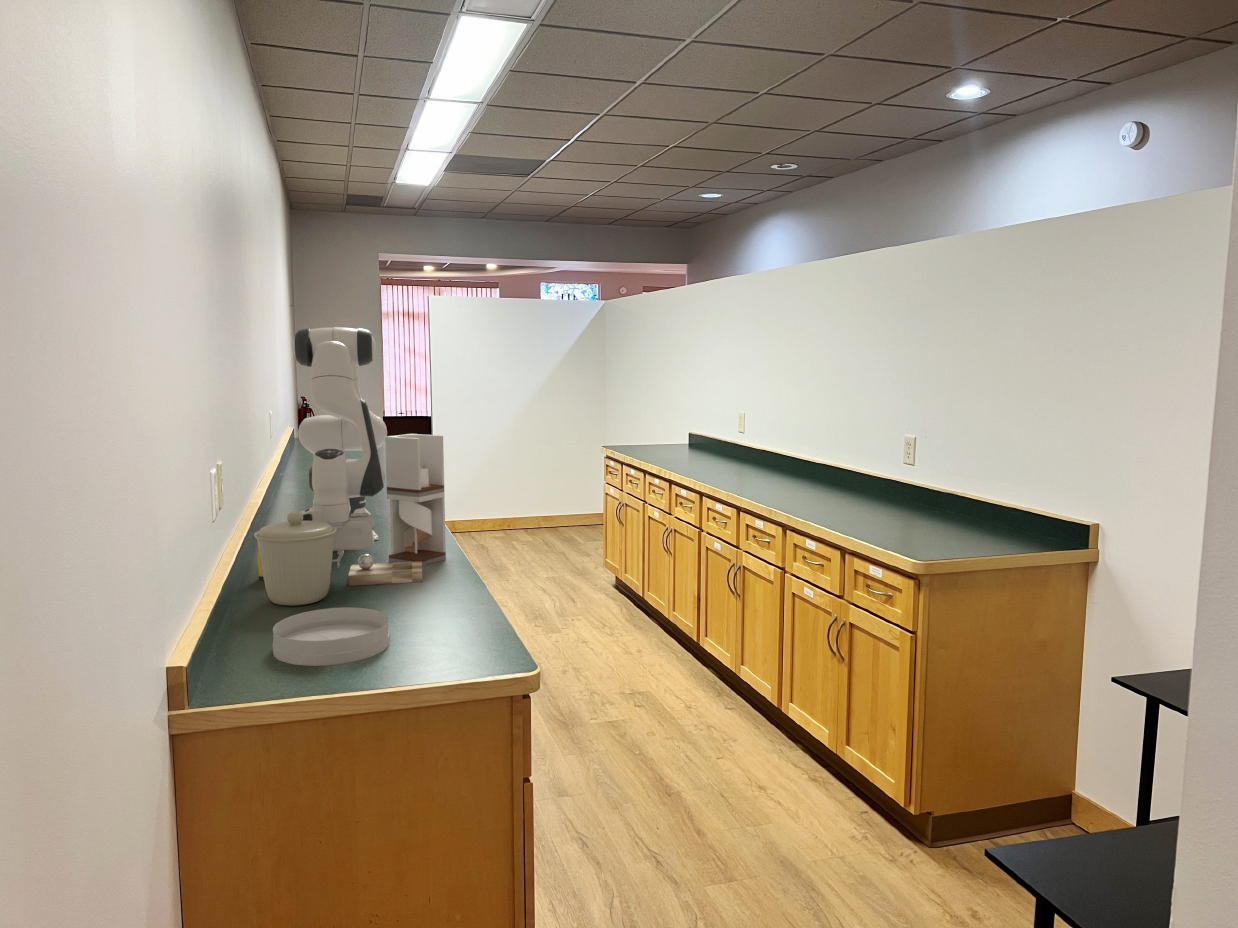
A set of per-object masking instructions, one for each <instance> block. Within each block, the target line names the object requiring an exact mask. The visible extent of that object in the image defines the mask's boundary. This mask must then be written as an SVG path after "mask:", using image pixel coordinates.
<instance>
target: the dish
mask: <svg viewBox="0 0 1238 928" xmlns="http://www.w3.org/2000/svg"><path fill="white" fill-rule="evenodd" d="M272 633H273V634H272V637H273V641H272V653H273V657H274V658H275V659H277V660H278V661H280V662H283V663H286V664H290V665H291V664H292V665H298V666H306V667H307V666H311V667H315V666H317V667H320V666H334V665H341V664H342V665H343V664H347V663H352V662H357V661H362V660H365V659H368V658H370V657H373V656H376V655H378V654H380V653H382V652H384V651H385V650H386V649H387V648H388V647H389V646H390V642H391V631H390V630H389V617H388V616H387V614H386V613H384V612H382V611H380V610H377V609H372V608H363V607H330V608H329V607H328V608H322V609H321V608H320V609H315V610H310V611H304V612H300V613H297V614H293V615H290V616H288V617H285V618H283V619H281V620H279V621H278V622H276V623H275V625H274V626H273V627H272Z"/></svg>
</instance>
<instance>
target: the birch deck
mask: <svg viewBox="0 0 1238 928" xmlns="http://www.w3.org/2000/svg"><path fill="white" fill-rule="evenodd" d="M347 578H348V579H347V580H348V586H352V587H353V586H367V585H386V584H401V583H402V584H404V583H405V584H407V583H419V582H422V583H423V566H422V561H417V562H397V563H391V562H380V563H379V562H377V563H374V564H373V566H372V567H371V568H370V569H367V570H364V569H361V568H360V567H359V565H358V563H357V564H351V565H350V569H349V572H348V577H347Z"/></svg>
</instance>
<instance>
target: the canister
mask: <svg viewBox="0 0 1238 928" xmlns="http://www.w3.org/2000/svg"><path fill="white" fill-rule="evenodd" d="M286 519H287V520H286V521H281V522H275V523H270V524H267V525H265V526H263V527H261V528H260V529H259V530H257V531H255V532H254V534H253V537H254V538H255V539H256V540H257V541H258V547H257V549H258V548H259V554H260V560H261V566H262V572H263V577H264V579H263V581H264V586H265V591H266V594H267V597H268V599H269V600H270V601H271V602H272V603H273V604H275V605H280V606H289V607H291V606H292V607H293V606H304V605H305V606H306V605H309V604H315V603H316V602H319V601H322V600H323V599H325V598H326V596H327V594H328V593H329V590H330V587H331V585H330V584H331V577H332V576H331V575H332V568H331V567H332V560H333V554H334V553H333V552H334V551H333V539H334V534H335V533H336V531H337V529H336V528H335V527H333V526H331V525H329V524H328V523H325V522H320V521H303V515H302V513H300V511H291V512H289V513H288V514H287V516H286Z"/></svg>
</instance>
